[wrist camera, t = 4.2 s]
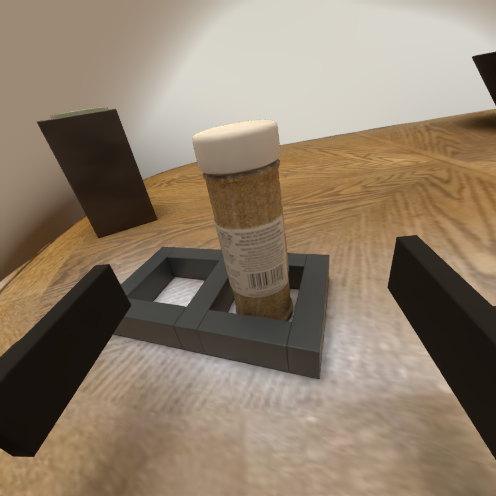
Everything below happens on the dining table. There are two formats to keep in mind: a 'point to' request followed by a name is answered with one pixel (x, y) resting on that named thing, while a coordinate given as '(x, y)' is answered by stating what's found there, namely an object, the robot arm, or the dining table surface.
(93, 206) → the riser
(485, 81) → the bowl
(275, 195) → the sprinkles bottle
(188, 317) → the bottle rack
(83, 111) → the coaster
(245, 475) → the dining table surface
